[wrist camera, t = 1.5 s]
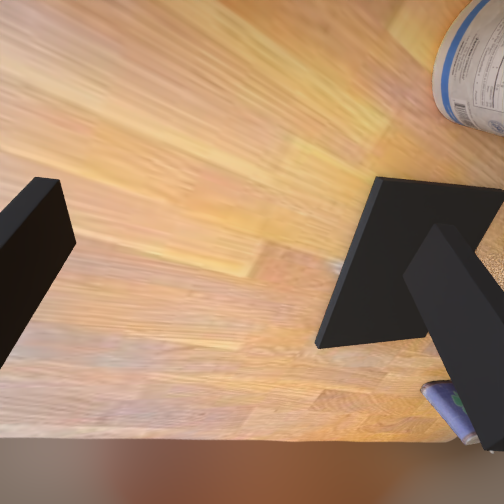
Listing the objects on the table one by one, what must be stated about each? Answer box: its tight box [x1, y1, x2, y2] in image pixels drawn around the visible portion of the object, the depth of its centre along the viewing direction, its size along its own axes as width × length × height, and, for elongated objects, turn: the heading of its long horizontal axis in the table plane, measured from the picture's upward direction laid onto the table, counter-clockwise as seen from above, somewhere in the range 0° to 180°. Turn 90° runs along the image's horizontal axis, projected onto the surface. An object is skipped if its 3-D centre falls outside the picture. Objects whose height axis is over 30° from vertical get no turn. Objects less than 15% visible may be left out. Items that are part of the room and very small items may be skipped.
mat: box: [315, 177, 504, 349], centre depth 37 cm, size 20×16×1 cm
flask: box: [420, 380, 494, 453], centre depth 51 cm, size 9×3×11 cm, turn 67°
